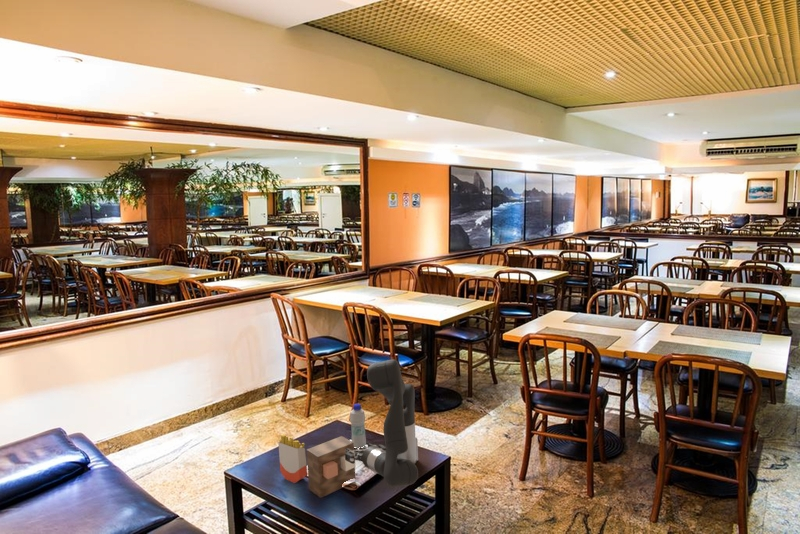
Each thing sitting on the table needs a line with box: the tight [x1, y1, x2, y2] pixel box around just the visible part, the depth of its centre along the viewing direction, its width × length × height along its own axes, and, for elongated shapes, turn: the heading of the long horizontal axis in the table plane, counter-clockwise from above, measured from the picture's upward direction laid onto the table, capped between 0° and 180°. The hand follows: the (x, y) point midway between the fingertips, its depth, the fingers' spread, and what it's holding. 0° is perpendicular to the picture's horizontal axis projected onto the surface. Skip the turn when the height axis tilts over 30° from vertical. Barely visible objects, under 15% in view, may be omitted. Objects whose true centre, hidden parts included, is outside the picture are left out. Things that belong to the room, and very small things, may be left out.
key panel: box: [306, 435, 356, 499], centre depth 202 cm, size 16×8×16 cm, turn 131°
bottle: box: [349, 403, 367, 449], centre depth 232 cm, size 7×7×20 cm
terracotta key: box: [322, 460, 338, 479], centre depth 195 cm, size 4×4×4 cm
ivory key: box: [340, 455, 356, 471], centre depth 200 cm, size 4×4×4 cm
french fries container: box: [277, 433, 308, 484], centre depth 208 cm, size 5×11×18 cm, turn 54°
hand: (357, 448), depth 191 cm, fingers open, 8 cm apart
